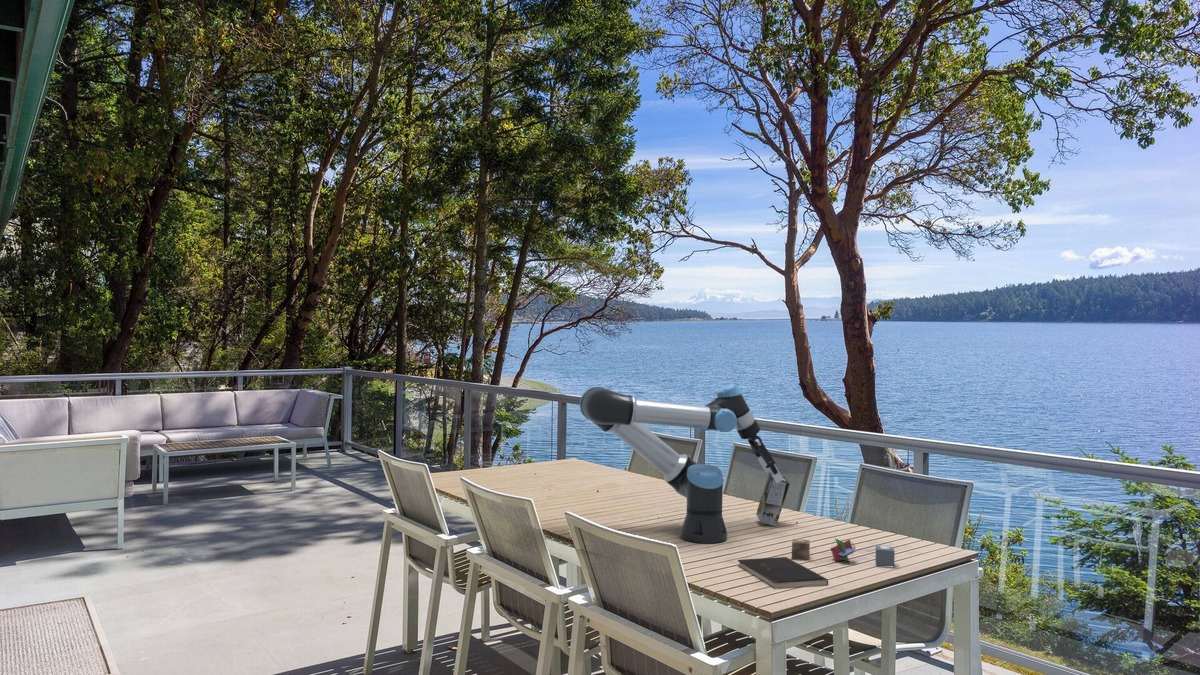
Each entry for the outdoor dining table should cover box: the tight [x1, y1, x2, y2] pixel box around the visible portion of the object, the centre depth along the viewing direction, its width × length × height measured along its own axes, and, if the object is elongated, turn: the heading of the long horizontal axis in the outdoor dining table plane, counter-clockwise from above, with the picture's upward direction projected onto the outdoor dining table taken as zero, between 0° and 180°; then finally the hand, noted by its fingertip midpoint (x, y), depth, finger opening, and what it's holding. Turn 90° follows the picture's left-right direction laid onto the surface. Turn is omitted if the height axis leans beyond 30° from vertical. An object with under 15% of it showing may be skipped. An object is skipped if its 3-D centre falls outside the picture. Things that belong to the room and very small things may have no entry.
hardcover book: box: [737, 556, 829, 589], centre depth 237 cm, size 16×23×2 cm
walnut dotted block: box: [791, 538, 811, 561], centre depth 256 cm, size 5×5×5 cm
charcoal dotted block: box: [874, 545, 895, 568], centre depth 250 cm, size 5×5×5 cm
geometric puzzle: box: [830, 538, 857, 564], centre depth 253 cm, size 7×7×8 cm
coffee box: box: [756, 472, 791, 527], centre depth 302 cm, size 9×6×16 cm
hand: (774, 476), depth 298 cm, fingers open, 13 cm apart
